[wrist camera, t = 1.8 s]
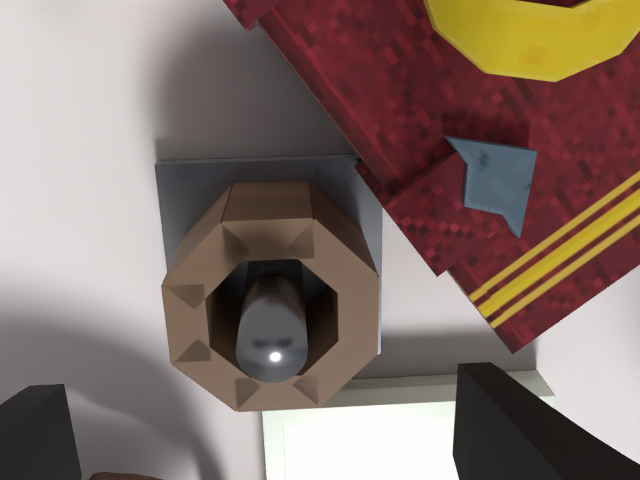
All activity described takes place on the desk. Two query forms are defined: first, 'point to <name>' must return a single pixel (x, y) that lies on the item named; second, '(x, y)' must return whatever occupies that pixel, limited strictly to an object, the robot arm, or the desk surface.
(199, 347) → the collar
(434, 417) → the tray
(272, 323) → the grey peg stand
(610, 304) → the desk surface
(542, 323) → the decorative book
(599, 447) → the robot arm
